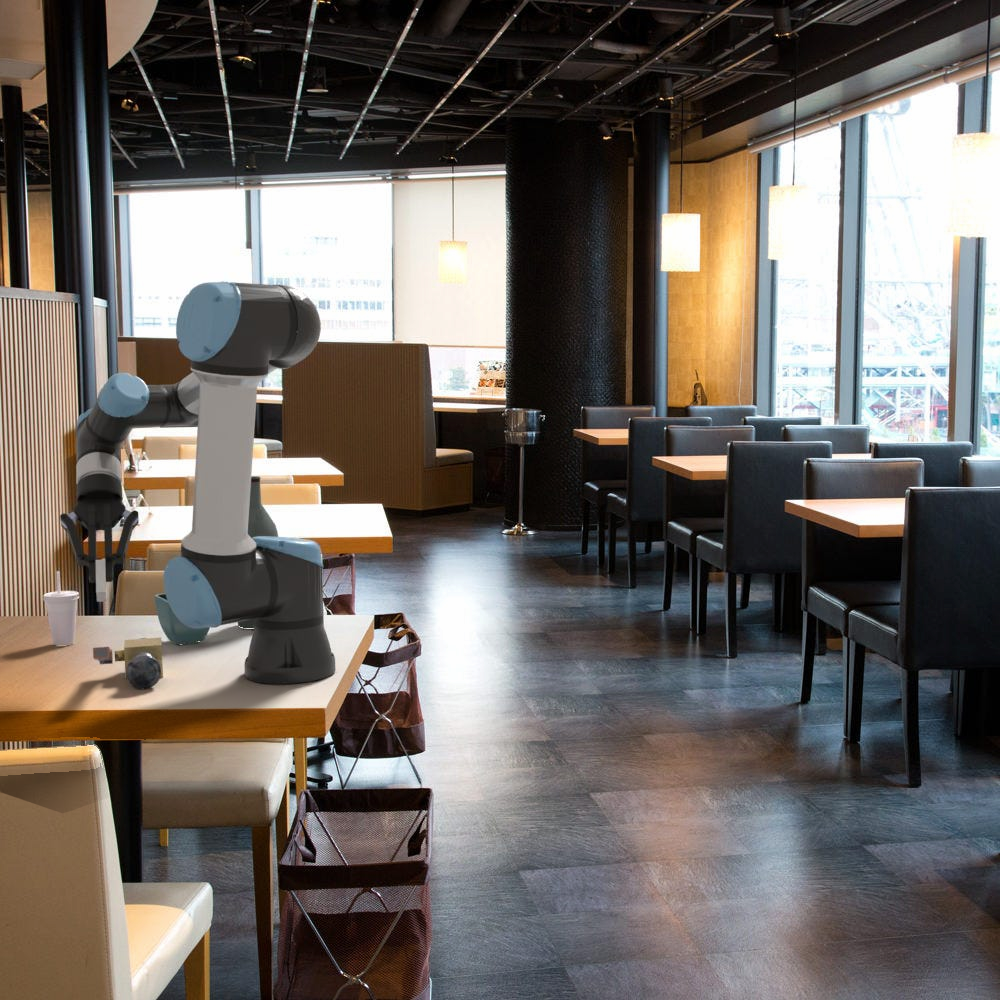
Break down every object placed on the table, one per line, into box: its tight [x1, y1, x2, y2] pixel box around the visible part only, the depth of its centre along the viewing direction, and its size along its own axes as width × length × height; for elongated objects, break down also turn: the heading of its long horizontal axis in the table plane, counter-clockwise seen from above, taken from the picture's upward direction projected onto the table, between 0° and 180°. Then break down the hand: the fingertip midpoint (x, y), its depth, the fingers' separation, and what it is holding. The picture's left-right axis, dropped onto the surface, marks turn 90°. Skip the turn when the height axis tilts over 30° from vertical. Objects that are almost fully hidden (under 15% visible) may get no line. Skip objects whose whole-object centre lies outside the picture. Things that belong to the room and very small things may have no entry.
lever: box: [92, 646, 114, 665], centre depth 193 cm, size 2×2×19 cm
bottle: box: [236, 475, 279, 628], centre depth 239 cm, size 9×9×30 cm
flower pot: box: [154, 593, 211, 645], centre depth 227 cm, size 9×9×9 cm
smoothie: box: [42, 570, 80, 646], centre depth 225 cm, size 6×6×14 cm
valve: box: [114, 637, 164, 690], centre depth 200 cm, size 14×8×6 cm, turn 16°
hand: (101, 596), depth 195 cm, fingers closed
